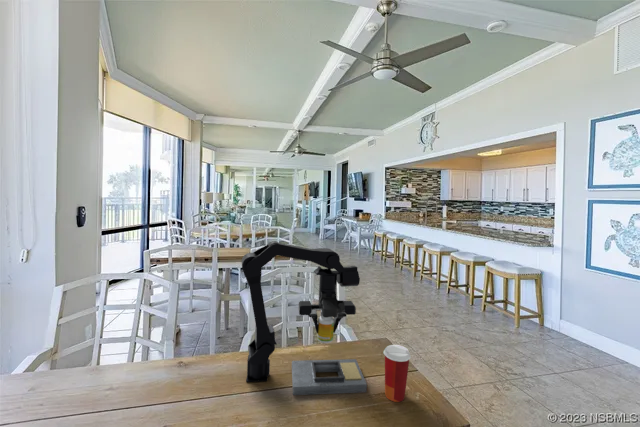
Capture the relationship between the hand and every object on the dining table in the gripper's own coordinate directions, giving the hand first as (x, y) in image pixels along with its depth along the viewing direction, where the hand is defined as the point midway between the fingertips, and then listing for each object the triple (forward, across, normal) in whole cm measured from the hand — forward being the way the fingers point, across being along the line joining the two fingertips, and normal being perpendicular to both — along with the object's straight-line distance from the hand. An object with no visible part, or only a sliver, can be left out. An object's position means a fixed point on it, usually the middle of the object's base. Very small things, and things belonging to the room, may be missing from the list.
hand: (325, 332), depth 104 cm
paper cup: (+12, +19, -16) cm, 28 cm away
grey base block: (+12, 0, -7) cm, 14 cm away
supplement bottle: (+3, 0, 0) cm, 3 cm away
